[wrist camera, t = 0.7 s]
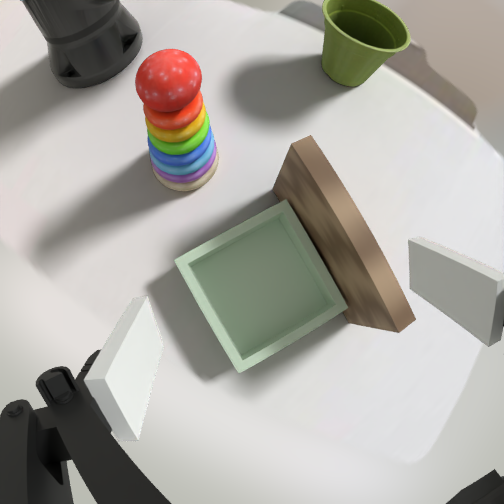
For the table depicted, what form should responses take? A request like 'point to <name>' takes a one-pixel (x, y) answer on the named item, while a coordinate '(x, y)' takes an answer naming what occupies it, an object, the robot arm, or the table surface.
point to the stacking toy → (176, 120)
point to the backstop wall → (342, 239)
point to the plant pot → (359, 39)
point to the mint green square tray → (261, 285)
